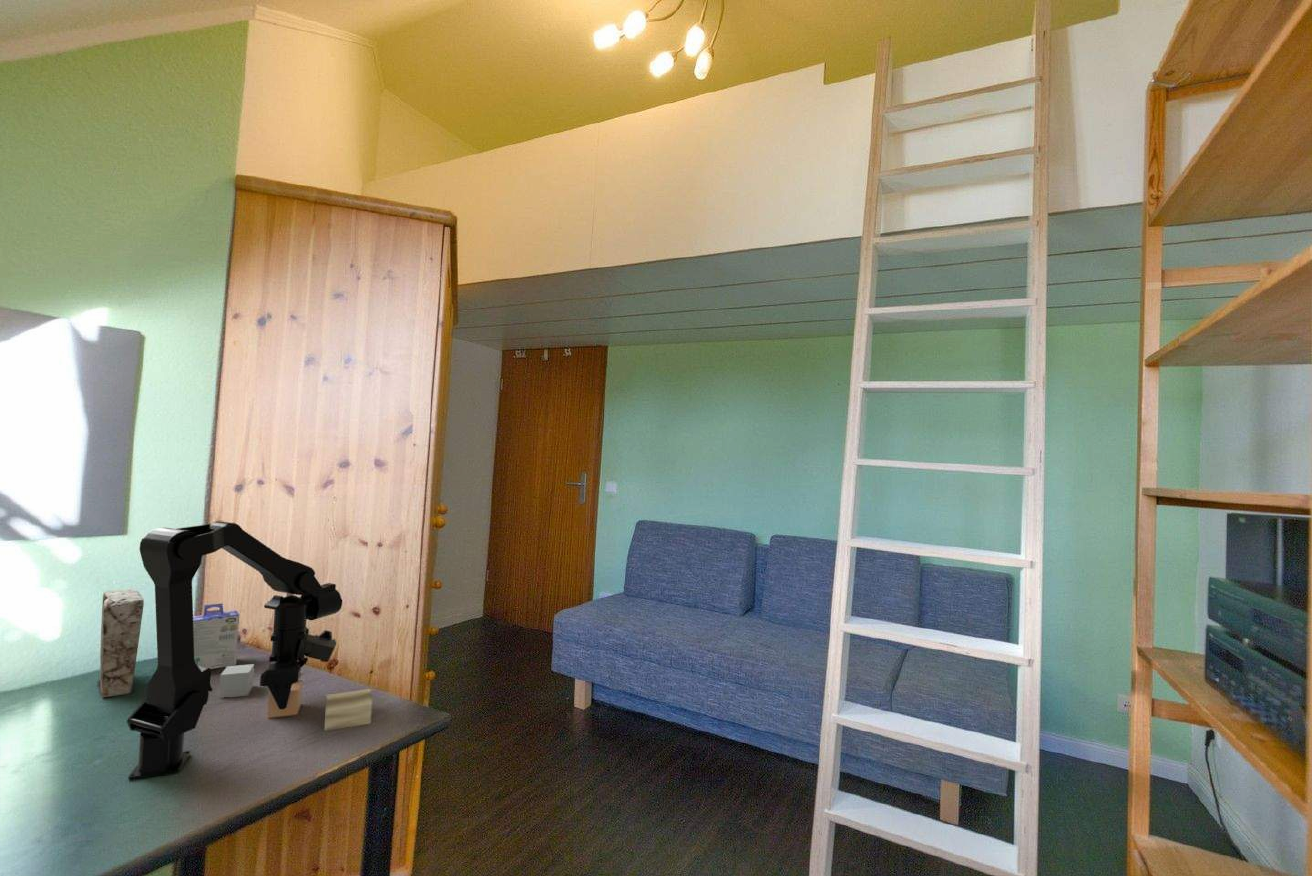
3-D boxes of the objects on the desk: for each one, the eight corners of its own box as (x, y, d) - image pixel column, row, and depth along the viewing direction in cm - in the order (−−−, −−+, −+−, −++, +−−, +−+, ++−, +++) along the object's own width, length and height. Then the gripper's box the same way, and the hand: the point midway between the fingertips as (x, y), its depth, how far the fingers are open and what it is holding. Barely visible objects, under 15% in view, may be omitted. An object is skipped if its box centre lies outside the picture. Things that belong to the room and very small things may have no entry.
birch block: (370, 724, 115) (371, 704, 115) (324, 732, 111) (325, 711, 111) (369, 708, 122) (370, 688, 122) (325, 714, 118) (327, 694, 118)
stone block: (143, 691, 124) (149, 597, 124) (98, 701, 118) (105, 603, 119) (129, 674, 132) (135, 586, 133) (86, 683, 127) (93, 591, 127)
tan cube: (296, 714, 117) (298, 689, 117) (267, 718, 115) (269, 692, 115) (300, 704, 122) (302, 680, 122) (272, 707, 120) (274, 683, 120)
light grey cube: (247, 695, 124) (248, 672, 125) (219, 698, 122) (220, 675, 123) (252, 686, 129) (254, 664, 129) (225, 689, 127) (227, 666, 127)
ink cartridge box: (234, 658, 144) (238, 600, 144) (237, 665, 140) (241, 605, 140) (183, 667, 137) (187, 606, 138) (185, 675, 133) (189, 611, 134)
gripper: (329, 637, 113) (324, 718, 113) (339, 611, 130) (334, 681, 130) (262, 642, 109) (256, 726, 109) (281, 614, 126) (276, 687, 126)
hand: (285, 703), depth 118 cm, fingers closed on tan cube, 5 cm apart
